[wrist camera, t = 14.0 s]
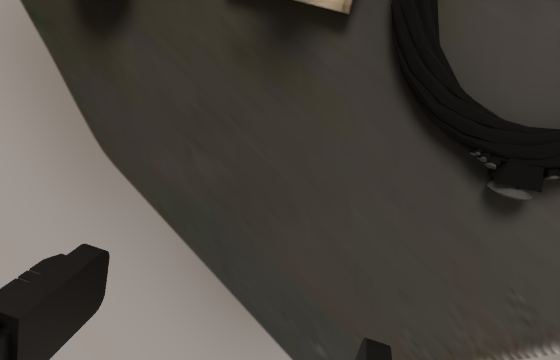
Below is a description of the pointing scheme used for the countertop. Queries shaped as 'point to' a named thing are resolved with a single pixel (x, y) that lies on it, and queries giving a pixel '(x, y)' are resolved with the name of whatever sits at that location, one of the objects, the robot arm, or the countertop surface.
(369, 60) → the countertop surface
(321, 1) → the divided tray
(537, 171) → the cable lock
